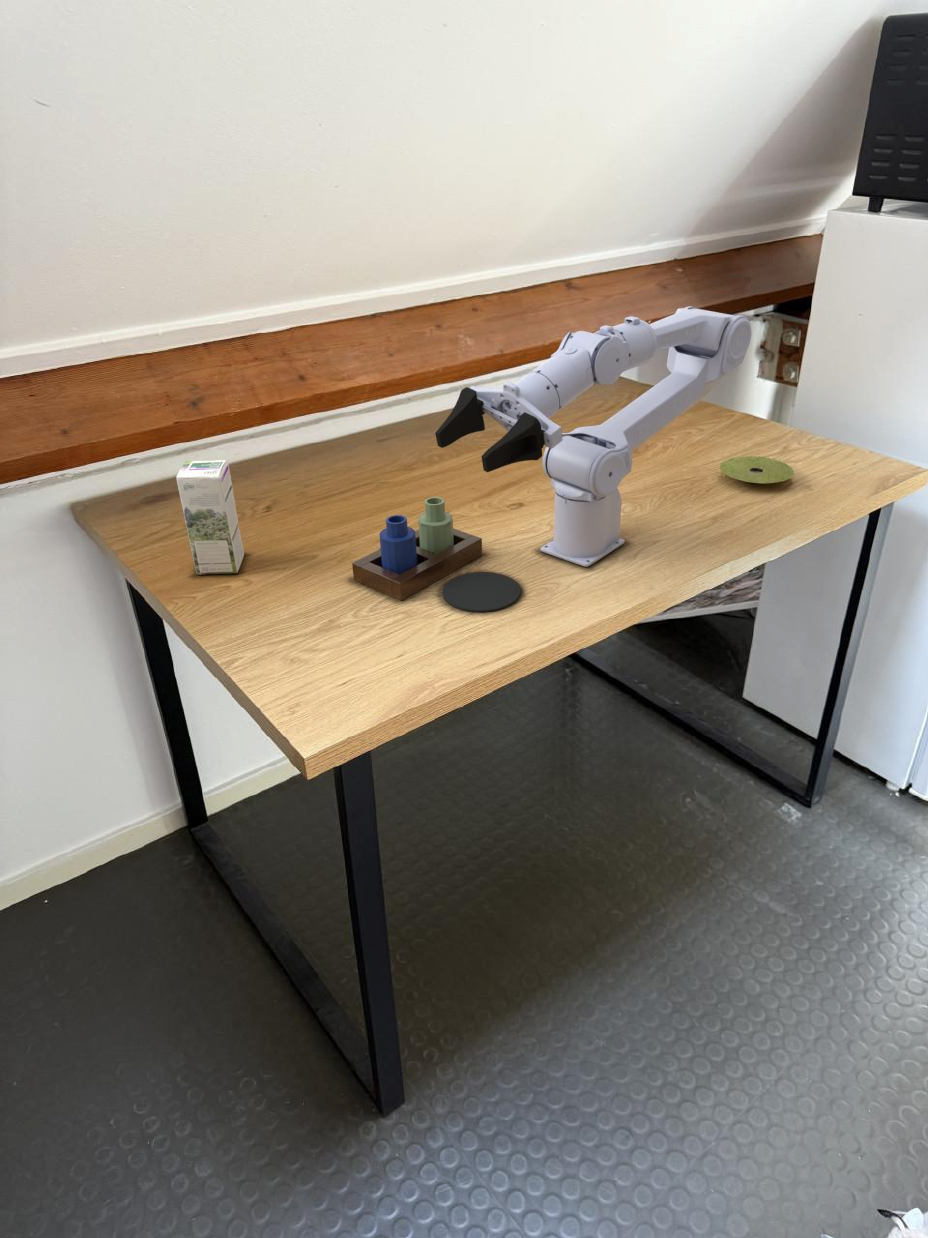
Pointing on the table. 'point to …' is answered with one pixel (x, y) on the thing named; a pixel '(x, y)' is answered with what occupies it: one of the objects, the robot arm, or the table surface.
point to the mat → (756, 469)
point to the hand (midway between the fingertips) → (460, 452)
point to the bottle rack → (417, 567)
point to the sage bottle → (435, 526)
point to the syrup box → (210, 516)
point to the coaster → (481, 592)
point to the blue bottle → (398, 545)
